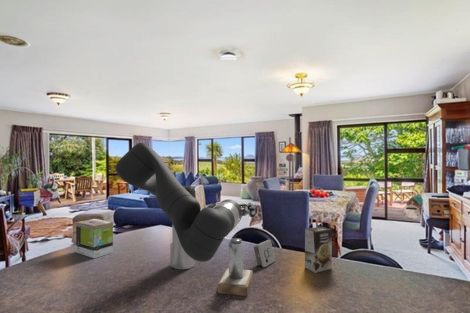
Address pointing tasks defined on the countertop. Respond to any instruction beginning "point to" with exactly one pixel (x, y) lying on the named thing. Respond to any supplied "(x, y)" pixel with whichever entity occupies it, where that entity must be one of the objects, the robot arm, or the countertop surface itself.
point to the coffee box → (318, 249)
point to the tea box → (94, 237)
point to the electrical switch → (264, 253)
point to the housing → (236, 258)
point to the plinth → (235, 283)
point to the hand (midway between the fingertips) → (236, 205)
